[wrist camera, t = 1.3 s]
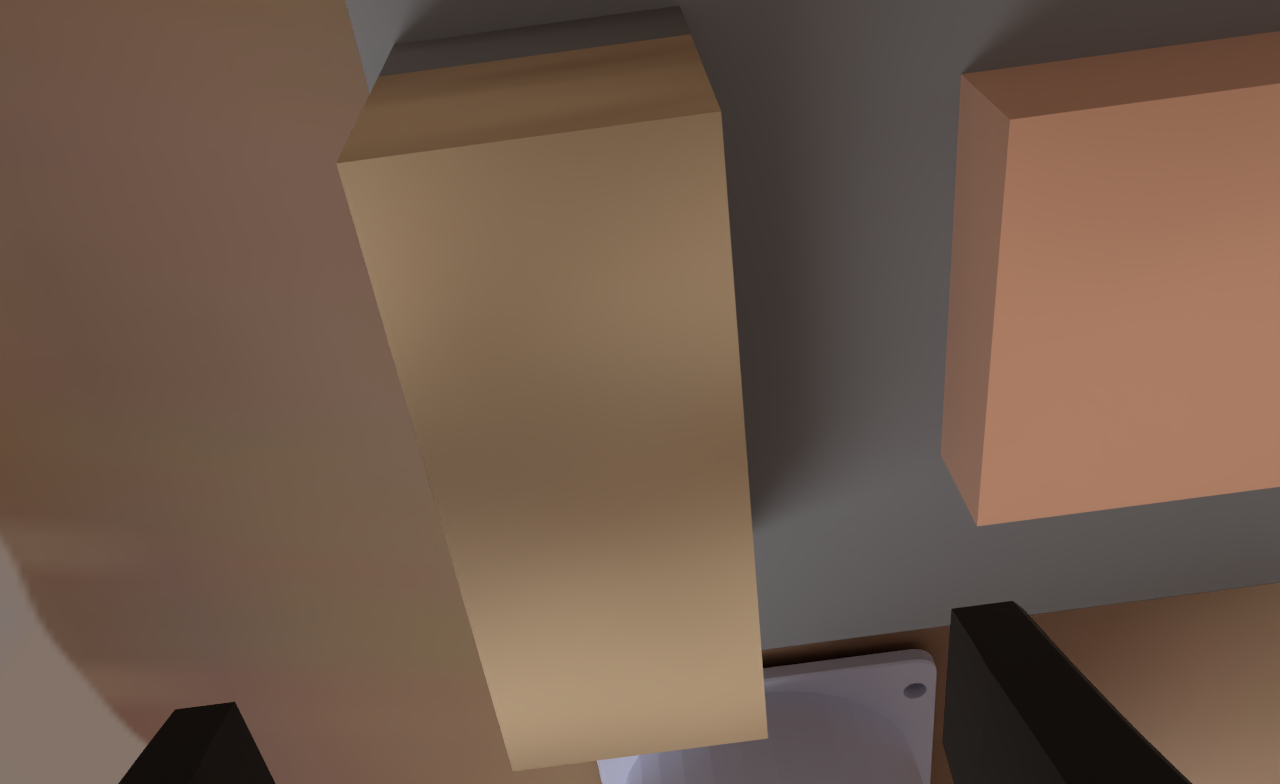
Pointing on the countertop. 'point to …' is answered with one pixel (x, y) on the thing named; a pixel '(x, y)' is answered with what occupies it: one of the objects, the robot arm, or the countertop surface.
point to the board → (887, 302)
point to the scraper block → (573, 372)
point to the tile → (1116, 281)
